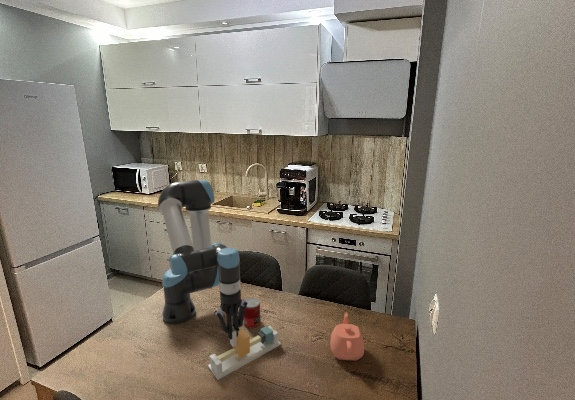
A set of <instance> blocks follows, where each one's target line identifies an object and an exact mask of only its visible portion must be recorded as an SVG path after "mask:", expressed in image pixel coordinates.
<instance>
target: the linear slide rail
mask: <svg viewBox="0 0 575 400" xmlns="http://www.w3.org/2000/svg"><path fill="white" fill-rule="evenodd" d="M281 344H282V343H281V342H280V340H279V332H278V331H277V330H275V329H274V328H273V326H271V325H265V326H264V327H262V328H260V329H259V331H258V332H257V335H256V336H253V337H252V338H250V353H248V354H246V355H244V356H243V357H241V358H238V354H237V349H236V348H233V347H232V348H231V349H228V350H226V351H225V352H223V353H221V354H219V355H217V354H216V353H212V354H211V355H209V364H208V365H207V367H208V369H209V370H210V371H211V373H212V374H213V376H214V378H215V379H216V380H221V379H223V378H224V377H225V376H227V375H229V374H231V373H233V372H235V371H236V370H238V369H240V368H243V366H246V365H247V364H249V363H251V362H253V361H254V360H256V359H258V358H260V357H261V356H263V355H265V354H266V353H268V352H270V351H273V350H274V349H276V348H277V347H279V346H281Z"/></svg>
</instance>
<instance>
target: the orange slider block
mask: <svg viewBox="0 0 575 400" xmlns="http://www.w3.org/2000/svg"><path fill="white" fill-rule="evenodd" d="M250 339H251V338H250V335H249V334H248V333H247V332H246V331H245V330H244V329H241V330H239V331H238V336H237V346H235V347H233V346H232V349H233V348H236V349H237V354H238V358H241V357H243V356H244V355H246V354H248V353H250Z"/></svg>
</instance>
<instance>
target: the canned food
mask: <svg viewBox="0 0 575 400" xmlns="http://www.w3.org/2000/svg"><path fill="white" fill-rule="evenodd" d="M244 300H245V301H246V302H247V303H248V304H247V306H246V308H245V314H244V319H243V325H244V326H245V327H247V328H250V329H252V328H257V327H258V326H259V325H260V324H261V301H260V300H259V299H258V298H256V297H247V298H245V299H244Z"/></svg>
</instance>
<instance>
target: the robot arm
mask: <svg viewBox="0 0 575 400" xmlns="http://www.w3.org/2000/svg"><path fill="white" fill-rule="evenodd" d="M212 186H213V185H212V184H211V183H210V181H209V180H207V179H195V180H185V181H177V182H176V181H175V182H172V183H170V184H168V185H167V186H165V187H164V188H163V189H162V191H161V192H160V195H159V197H158V200H157V207H158V211H159V213H161V215H163V219H164V224H165V228H166V230H167V235H168V238H169V242H170V246H171V251H172V255H170V256H169V257H168V259H169V266H170V268H169V269H168V270H167V271H165V272H164V273H163V275H162V278H161V279H162V287H163V296H164V305H163V310H162V320H163V321H164V322H165V323H167V324H170V325H171V324H172V325H177V324H178V325H179V324H182V323H185V322H187V321H189V320H191V319H192V318H193V317H194V316H195V315H196V306H195V303H194V302H193V300H192V297H191V294H193V293H197V292H201V291H204V290H205V291H206V290H209V289H212V288H215V287H218V286H219V297H220V305H219V308H218V310H215V311H214V314H215V316H217V319H218V322H219V324H220V327H221V330H222V331H223V332H224V333H225V334H227V339H228V340H229V343H230V345H231V346H232V348H233V347H235V346H237V336H238V331H240V328H241V327H243V325H244V321H243V319H244V314H245V308H246V306H247V304H248V303H247V302H246V301H245V299H242V291H241V290H242V288H241V271H240V267H241V265H240V260H241V259H240V255H239V254H240V253H239V250H238V249H236V248H233V247H228V246H226V245H225V244H224V243H222V242H214V243H212V241H211V240H212V239H211V227H210V217H209V214H210V213H209V211H210V210H211V209H212V204H214V203H215V193H214V189H213V187H212ZM183 208H185V211H186V212H187V213H188V214H189V220H190V222H189V223H190V229H191V230H190V231H191V235H190V233H189V229H188V227H187V224H186V220H185V217H184V213H183V211H182V210H183ZM223 312H224V314H225V317H224V316H223V315H224V314H223ZM224 318H225V319H224Z"/></svg>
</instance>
